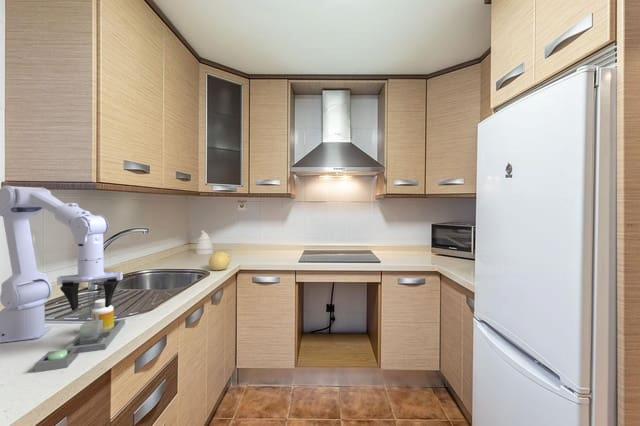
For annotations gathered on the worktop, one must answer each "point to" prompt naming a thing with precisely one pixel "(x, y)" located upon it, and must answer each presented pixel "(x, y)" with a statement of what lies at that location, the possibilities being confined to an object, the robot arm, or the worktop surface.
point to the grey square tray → (56, 361)
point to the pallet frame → (98, 346)
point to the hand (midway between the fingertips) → (91, 307)
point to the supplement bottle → (103, 314)
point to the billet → (91, 332)
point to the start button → (57, 354)
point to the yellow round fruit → (219, 261)
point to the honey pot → (204, 244)
